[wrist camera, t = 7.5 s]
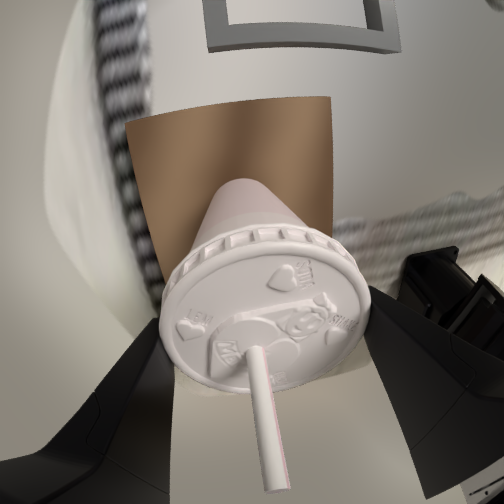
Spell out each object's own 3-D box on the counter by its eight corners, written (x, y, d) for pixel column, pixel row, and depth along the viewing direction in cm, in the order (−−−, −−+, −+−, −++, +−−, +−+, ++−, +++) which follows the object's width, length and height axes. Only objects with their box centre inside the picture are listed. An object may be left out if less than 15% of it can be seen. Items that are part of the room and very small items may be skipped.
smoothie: (163, 205, 16) (78, 472, 4) (252, 130, 14) (432, 342, 2) (235, 275, 18) (264, 510, 6) (318, 215, 17) (454, 434, 5)
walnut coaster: (324, 96, 15) (330, 96, 15) (326, 260, 22) (330, 267, 21) (129, 121, 15) (124, 123, 14) (169, 283, 21) (168, 291, 20)
